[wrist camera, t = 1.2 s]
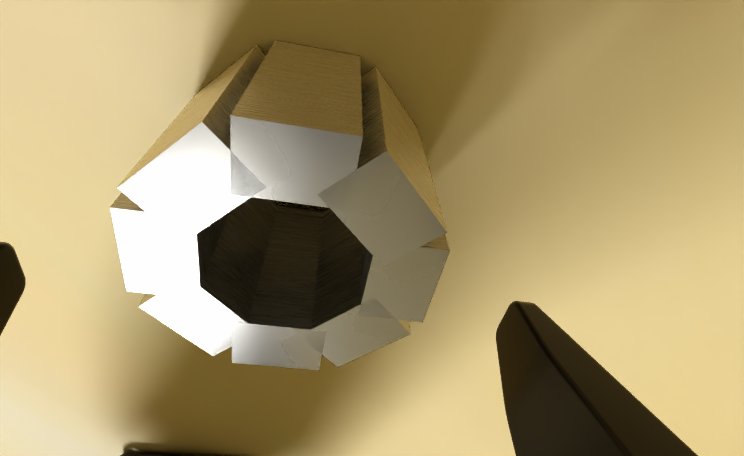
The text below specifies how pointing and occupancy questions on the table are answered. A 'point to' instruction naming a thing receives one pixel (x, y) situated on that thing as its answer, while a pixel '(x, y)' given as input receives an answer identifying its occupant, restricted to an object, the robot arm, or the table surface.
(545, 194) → the table surface
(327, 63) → the hub ring
